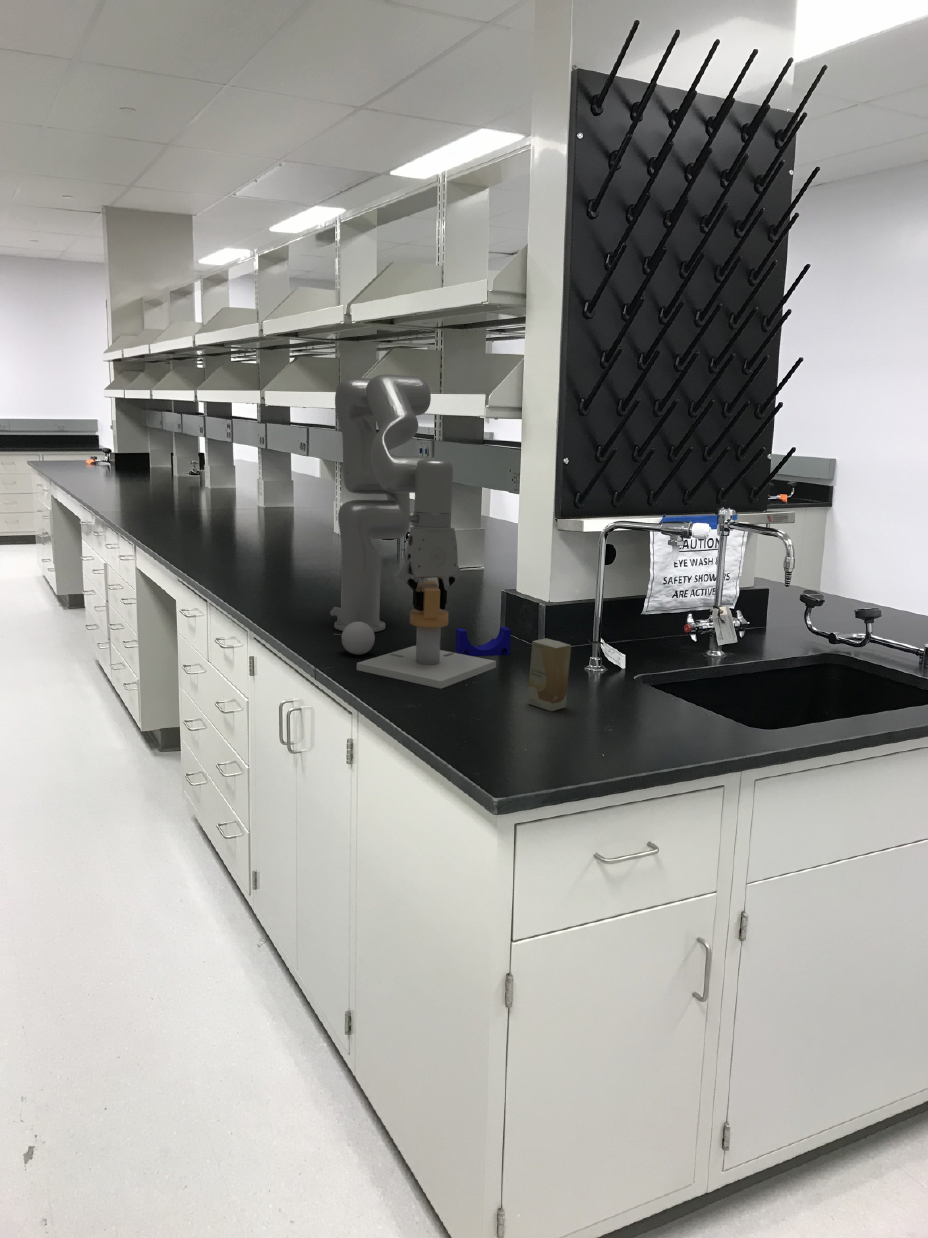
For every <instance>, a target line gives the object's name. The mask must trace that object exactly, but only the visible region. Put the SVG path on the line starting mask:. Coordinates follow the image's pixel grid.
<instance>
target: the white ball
mask: <svg viewBox="0 0 928 1238" xmlns="http://www.w3.org/2000/svg"><path fill="white" fill-rule="evenodd" d="M334 635H337V636H341V638H340V639H341V644H342V647H343V648H344V649H345V650H346V651H347V652H348V653H350V654H352V655H355V656H361V655H364V654H366V653H368V652H369V651H370V650H372V648H373V647H374V644H375V639H376V638H375V632H373V630H372V628H371V627H370V626H369V625H368V624H366V623H364V622H353V623H351V624H349V625H348V626H346V627H345V629H344V631H342V632H341V634H340V633H339V634H338V633H334Z"/></svg>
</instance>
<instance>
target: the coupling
mask: <svg viewBox="0 0 928 1238" xmlns="http://www.w3.org/2000/svg"><path fill="white" fill-rule="evenodd" d="M438 587H439V586H438V583H437V581H436V580H425V579H424V582H423V587H422V592H424V600H423V611H418V610H416V609H414V608H413V609H410V611H409V624H410V625H412V626H415V627H417V626H418V627H429V628H434V627H441V628H443V627H447V626H448V625H449V613H450V612H449V611H447V610H446V609H445V610H442V609H440V589H439V588H438Z"/></svg>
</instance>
